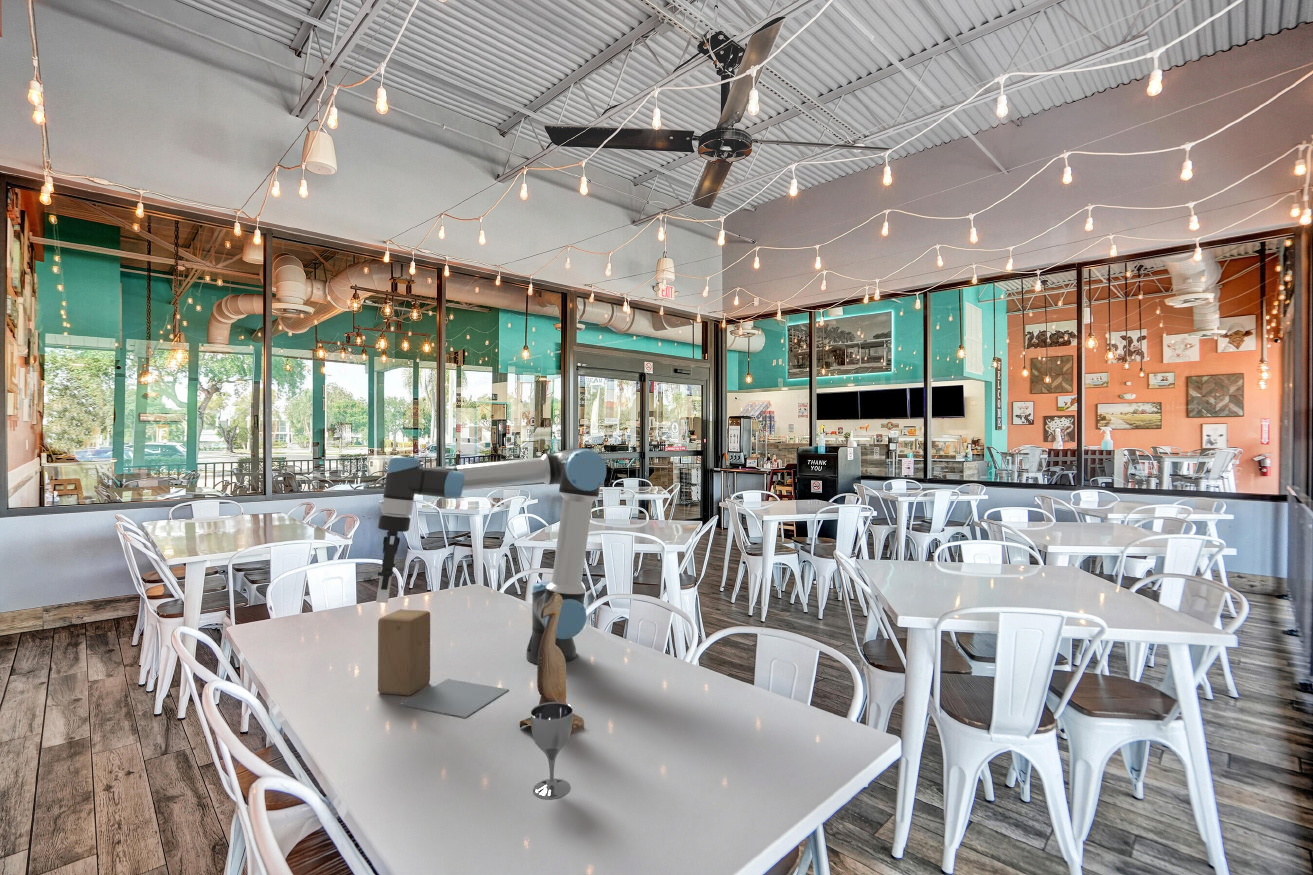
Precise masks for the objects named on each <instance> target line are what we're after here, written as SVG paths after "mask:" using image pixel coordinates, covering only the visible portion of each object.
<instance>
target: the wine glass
mask: <svg viewBox="0 0 1313 875" xmlns="http://www.w3.org/2000/svg"><path fill="white" fill-rule="evenodd" d="M573 714H574V710H573V707H572V705H570V704H568V703H567V702H566V703H562V702H548V703H543V704H540V705H539V704H537V705H536V706H533V708H532V709H531V711H530V717H531V726H530V727H531V728H530V729H531V733H532V737H533V738H532V739H533V741H534V743H535V745H536V746H537V747H538V748H539V750H541V751H542V753H543V754H545V756H546V758H547V762H548V767H549V778H546V779H543V780H541V781H539V782H537V783H536V784H535V785H534V786H533V789H532V794H533V795H534V796H535V797H537V798H539V799H542V800H555V799H560V798H562V797H564V796H566V795H567V794H568V793H569V792H570V791H571V785H570V782H568V781H567V780H564V779H561V778H555V775H554V774H555V764H556V759H557V756H558V754H559V753H560V752H561V751H562V750H563V748H564V747H565V746H566V745H567V743H568V742H569V739H570V737H571V734H572V733H571V730H572V722H573Z"/></svg>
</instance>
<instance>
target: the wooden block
mask: <svg viewBox="0 0 1313 875" xmlns="http://www.w3.org/2000/svg"><path fill="white" fill-rule="evenodd" d="M430 681H431V613H430V611H427V610H419V609H418V610H417V609H405V608H404V609H398V610H395V611H392V612H391V613H388V614H386V615H384V616H382V617H380V618H379V619H378V621H377V691H378V693H379V694H386V695H387V694H389V695H396V696H397V695H398V696H412V695H414V694H415V693H417V692H418V691H419V690H420V689H422V688H424V687H425V686H426V685H428V684H429V683H430Z"/></svg>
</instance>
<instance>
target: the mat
mask: <svg viewBox="0 0 1313 875" xmlns="http://www.w3.org/2000/svg"><path fill="white" fill-rule="evenodd" d="M509 690H510V689H509V688H503V687H497V686H492V685H485V684H480V683H474V682H470V681H462V680H457V679H450V678H447V679H444V681H441V682H440V683H438V684H436V685H434V686H432V687H430V688H428V689H427V690H424V691H422V692H421V693H419V694H417V695H415V696H414V697H413V696H412V697H411V698H409V699H408V700H405V701H404V702H401V703H400V704H399V706H400V705H402V707H406V706H407V707H406V708H411V707H412V709H416V708H417V710H421V709H422V710H421V711H426V710H428V712H431V711H433V712H432V713H436V712H438V713H437V714H441V713H443V714H442V715H446V714H448V716H451V715H454V716H453V717H456V716H459V717H458V718H461V717H462V719H467V718H469V717H470V716H471V715H473V714H475V713H476V712H477V710H478V711H479V710H481V709H482V708H484V707H486V706H487V705H488V704H491V703H492V702H493V701H495V700H496V699H498V698H499V697H501V696H503V695H504V694H506V693H507V692H509ZM505 692H506V693H505ZM502 694H503V695H502ZM474 712H475V713H474ZM469 715H470V716H469ZM466 717H467V718H466Z"/></svg>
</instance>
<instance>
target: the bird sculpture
mask: <svg viewBox="0 0 1313 875" xmlns="http://www.w3.org/2000/svg"><path fill="white" fill-rule="evenodd" d="M562 604H563V599H562V597H561V595H560V593H558V592H555V593H553V594H552V596H551V598H550V599H549V601H548V602H547V603H546V604H545V605H544V607H543V609H542V612H541V618H545V617H547V616H549V619H548V621H547V624H546V627H545V630H544V633H543V636H542V639H541V643H540V647H539V652H538V664H537V667H536V668H537V669H536V670H537V672H536V674H537V675H536V685H537V686H536V687H537V691H538V693H539V695H540V699H539V702H538V705H540V704H543V703H548V702H562V703H566V704H567V662H565V657H564V655H563V653H562V651H561V650H560V649H559V647H557V646H556V645H555V640H556V631H557V625H558V619H559V615H560V611H561V608H562ZM518 725H519V729H521V728H524V727H525V726H530V727H531V716H530V717H527V718H525V719H522V720H521V721H519V724H518ZM582 728H583V729H584V728H585V720H584V719H583V717H581V716H579V715H577V714H575V713H573V722H572V730H571V734H574V733H575V732H579V731H581V730H582ZM578 730H579V731H578Z"/></svg>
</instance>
